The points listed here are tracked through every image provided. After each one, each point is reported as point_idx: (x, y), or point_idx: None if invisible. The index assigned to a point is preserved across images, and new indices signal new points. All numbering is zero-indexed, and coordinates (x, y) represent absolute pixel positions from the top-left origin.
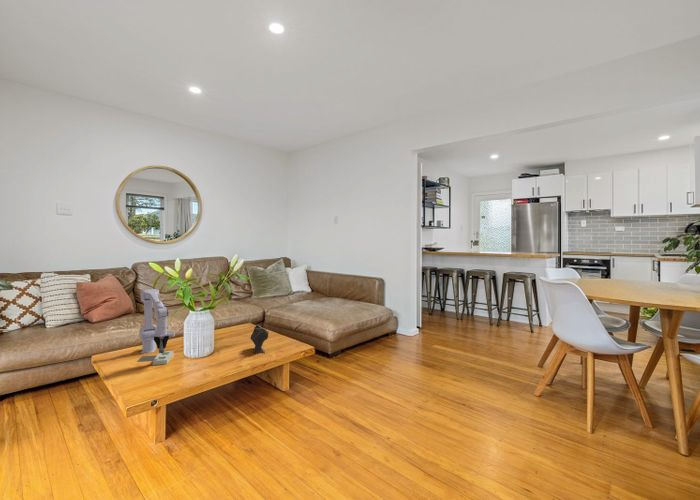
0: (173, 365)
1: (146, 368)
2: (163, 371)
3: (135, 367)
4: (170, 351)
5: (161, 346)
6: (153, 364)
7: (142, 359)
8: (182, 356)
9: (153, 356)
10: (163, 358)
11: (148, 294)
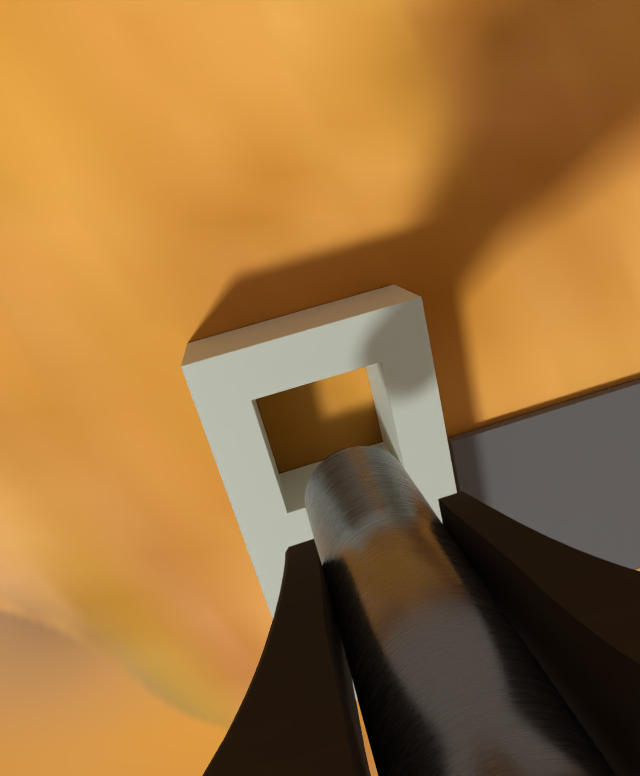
0: (46, 316)
1: (431, 155)
2: (42, 7)
3: (611, 190)
4: None
5: (379, 545)
6: (386, 289)
7: (625, 463)
8: (143, 654)
9: None
10: None
11: None
